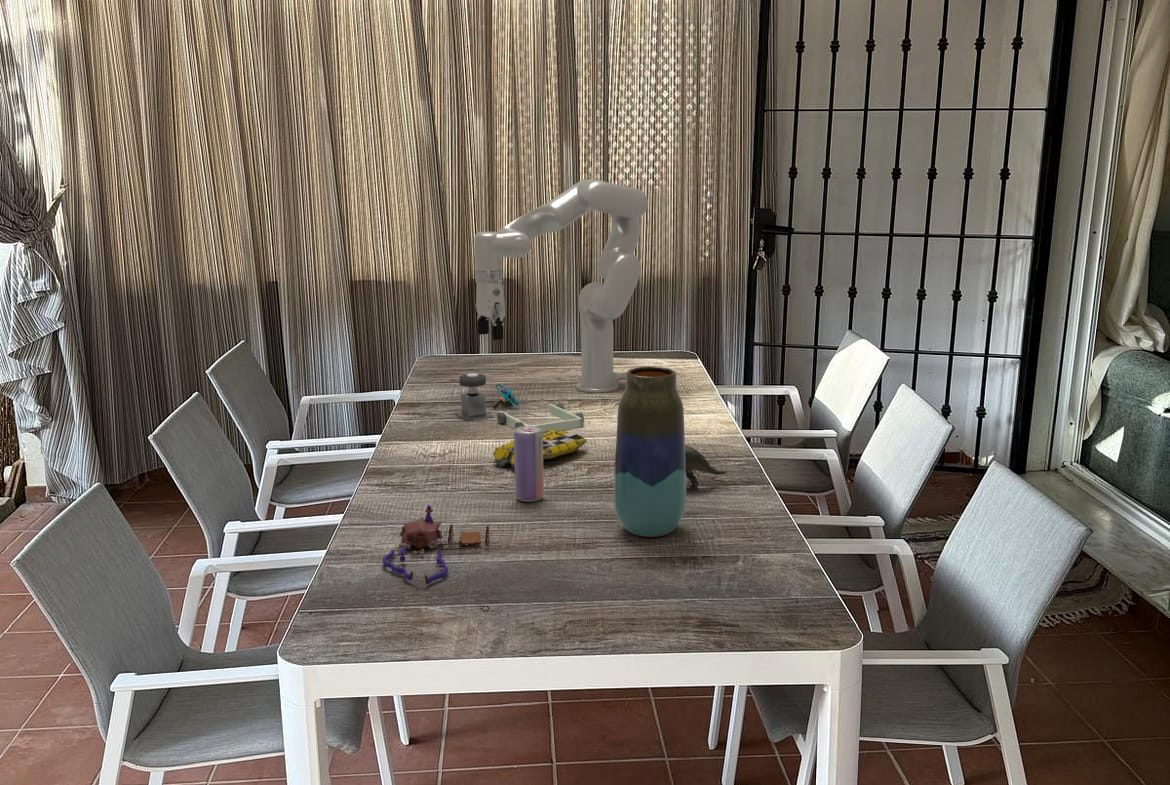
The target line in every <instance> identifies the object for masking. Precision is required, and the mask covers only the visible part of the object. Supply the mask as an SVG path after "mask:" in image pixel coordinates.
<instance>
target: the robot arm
mask: <svg viewBox="0 0 1170 785" xmlns="http://www.w3.org/2000/svg"><path fill="white" fill-rule="evenodd" d="M648 206H649V199H648V198H647V195H646V194H645V193H644V191H642V190H640V189H639V188H635V187H630V186H625V185H620V184H617V183H611V182H608V181H605V180H601V179H600V180H599V179H590V178H587V179H586V178H585V179H581V180H580V181H577V182H576V183H575V184H573V185H572V186H570V187H568V188H567V189H566V190H564V191H563V192H561V193H560V194H558V195H557V196H555V197H554V198H552V199H551V200H549V201H548V202H545V203H544V204H543V205H540V206H538V207H536V208H534V209H532V210H531V211H529V212H526V213H525V214H523V215H520V216H519V217H516V218H515V219H514V220H512V221H511V222H509V223H508V224H507V225H504V227H502V228H501V229H500V230H498V232H497V231H480V232H476V234H474V239H473V244H474V245H473V246H474V270H475V276H474V277H475V283H476V292H475V293H476V294H475V298H476V299H475V300H476V302H475V305H474V306H475V310H476V311H475V313H476V316H477V317H476V320H477V334H478V335H479V336H480V335H481V336H482V335H488V334H489V333H490V327H489V326H490V324H489V319H490V320H491V323H492V326H491V338H492V340H493V341H498V340H499V341H500V340H503V339H504V324H505V323H504V321H505V316H506V303H505V292H504V286H503V258H510V259H511V258H512V259H520V258H523V257H526V256H527V255H529V253H530V251H531V249H532V241H531V240H533V239H535V238H537V237H539V236H540V237H541V236H542V235H546V234H548V233H549V234H550V233H555V232H558V231H560V230H563V229H565V228H566V227H567V226H569V225H571V224H572V223H573V222H575V221H576V220H578V219H579V218H581V217H583V216H584V215H585V214H587V213H588V212H590V211H596V212H601V213H605V214H609V216H610V218H611V230H610V233H609V236H608V239H607V241H606V243H605V244H604V245H605V246H604V248H603V250H602V252H601V254H600V256H599V259H598V261H597V263H596V271H597V274H598V275H599V277H600V278H602V279H603V280H604V281H603V283H601V282H590V283H588V284H586V285H585V286H584V287H582V288H581V291H580V292H579V295H578V309H579V314H580V315H579V316H580V317H579V318H580V325H581V326H580V327H581V328H580V330H581V335H580V336H581V337H580V338H581V341H580V342H581V344H580V345H581V346H580V347H581V348H580V349H581V352H580V353H581V355H580V357H581V358H580V359H581V381H580V382H577V383H576V385H575V386H576V389H577V390H579V391H581V392H584V393H595V394H596V393H597V394H598V393H610V392H613V391H617V390H618V389H619V383H618V382H619V381H620V380H621V381H623V380H625V381H626V372H624V373H619V372H616V371H614V323H613V320H616V319H618V318H619V317H621V315H623V313H624V311H625V310H626V308H627V307H628V304H629V302H630V300H631V297H632V296H633V294H634V292H635V289H636V287H637V284H638V281H639V280H640V278H641V277H640V276H641V270H642V269H641V267H642V266H641V262H640V260H639V259H638V257H637V256H636V255H635V254H634V253H635V250H636V248H637V245H638V242H639V239H640V235H641V221H640V218H641V217H643V215H645V213H646V212H647V210H648Z"/></svg>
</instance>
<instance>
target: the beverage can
mask: <svg viewBox="0 0 1170 785" xmlns="http://www.w3.org/2000/svg"><path fill="white" fill-rule="evenodd" d="M513 440H514V459H515V468H514V491H515V492H514V493H515V497H516V498H517V500H519V501H520V502H523V503H524V502H525V503H532V502H533V503H534V502H537V501H541V500H542V499H543V497H544V495H545V494H544V492H545V490H544V486H545V485H544V459H543V433H542V429H541V428H540V427H538V426H520V427H517V428H516V429H514V434H513Z"/></svg>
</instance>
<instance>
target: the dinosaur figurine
mask: <svg viewBox="0 0 1170 785" xmlns="http://www.w3.org/2000/svg"><path fill="white" fill-rule="evenodd" d="M685 461H686V479H688V480H690V483H691V485H690V486H689V488H688V489H689V490H694V489H696V488H698V486H699V482H698V478H697V477H696V476H695V474H694V473H693V472H694V471H699V472H704V473H708V474H711V475H716V476H717V475H719V476H720V475H725V474H727V473H728V471H726V470H725V471H724V470H718V469H716V468H714V467H712V466H711V465H710V464H709V462H708V460H707V459H706V458H705V457H704V456H703V455H702V454H701V453H700V452H699V451H698V450H697V449H695V448H694V447H693V446H690V445H687V444H685Z"/></svg>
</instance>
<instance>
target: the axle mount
mask: <svg viewBox="0 0 1170 785" xmlns="http://www.w3.org/2000/svg"><path fill="white" fill-rule="evenodd" d="M477 392H478V393H476V394H469V392H466V393H465V392H464V393H460V402H461V404H460V405H461V411H458V412H454V415H455V416H456V417H458V418H460V419H462V420H463V421H464V422H470V421H476V420H485V419H491V418H494V415H493V414H492V413H490V412H488V411H487V410H486V409H487V408H486V407H487V406H486V403H487V402H486V394H483V393H482V392H479V391H477Z"/></svg>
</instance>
